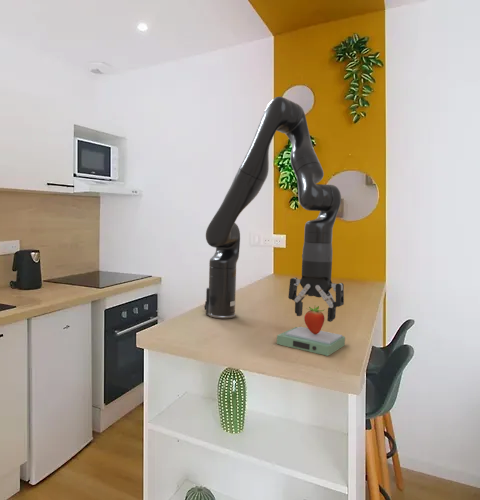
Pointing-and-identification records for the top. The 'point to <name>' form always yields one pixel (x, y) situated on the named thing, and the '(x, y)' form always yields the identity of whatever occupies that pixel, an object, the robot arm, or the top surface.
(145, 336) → the top surface
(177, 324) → the top surface
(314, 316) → the fruit
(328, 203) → the robot arm
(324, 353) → the scale
